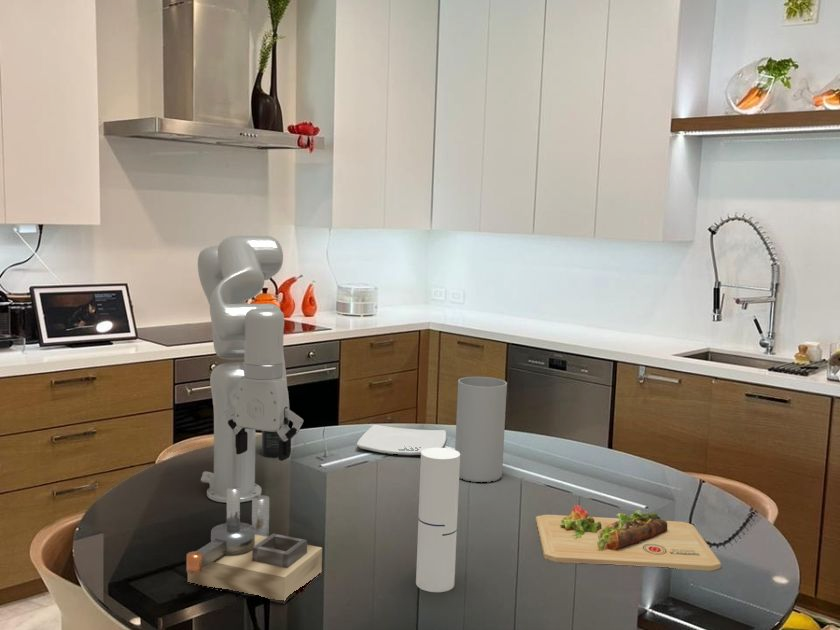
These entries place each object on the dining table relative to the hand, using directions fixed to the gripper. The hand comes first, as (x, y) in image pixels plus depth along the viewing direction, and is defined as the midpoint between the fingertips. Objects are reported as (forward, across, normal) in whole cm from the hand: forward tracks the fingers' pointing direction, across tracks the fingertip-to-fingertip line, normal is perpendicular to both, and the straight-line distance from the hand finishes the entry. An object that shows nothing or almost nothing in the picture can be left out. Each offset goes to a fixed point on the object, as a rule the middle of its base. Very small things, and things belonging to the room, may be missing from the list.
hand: (262, 455), depth 169 cm
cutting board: (+20, +68, +34) cm, 78 cm away
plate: (+19, -1, +80) cm, 82 cm away
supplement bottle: (+18, -29, +55) cm, 65 cm away
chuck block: (+19, +6, -13) cm, 24 cm away
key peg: (+19, 0, 0) cm, 19 cm away
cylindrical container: (+19, +38, -1) cm, 42 cm away
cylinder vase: (+19, +27, +63) cm, 71 cm away
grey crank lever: (+14, +2, -18) cm, 22 cm away
